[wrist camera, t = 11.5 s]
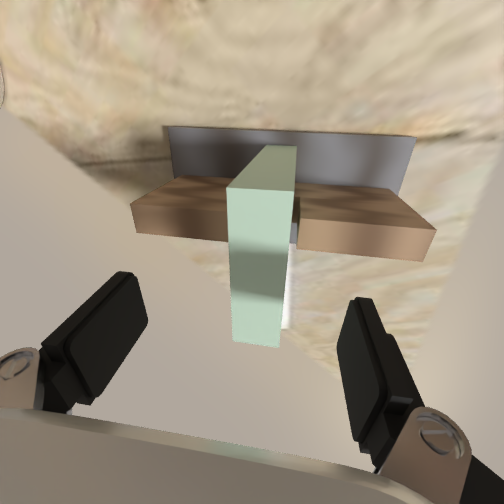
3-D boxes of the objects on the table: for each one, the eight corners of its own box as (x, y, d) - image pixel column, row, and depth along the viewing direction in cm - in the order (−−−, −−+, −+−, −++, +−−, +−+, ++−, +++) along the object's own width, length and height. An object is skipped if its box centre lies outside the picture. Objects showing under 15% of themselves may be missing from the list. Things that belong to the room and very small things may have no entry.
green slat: (263, 234, 30) (232, 340, 16) (266, 144, 25) (226, 187, 11) (288, 236, 29) (278, 347, 16) (296, 145, 24) (294, 191, 11)
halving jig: (186, 227, 33) (137, 277, 23) (173, 126, 27) (100, 135, 17) (375, 245, 30) (413, 313, 20) (410, 136, 24) (490, 154, 14)
